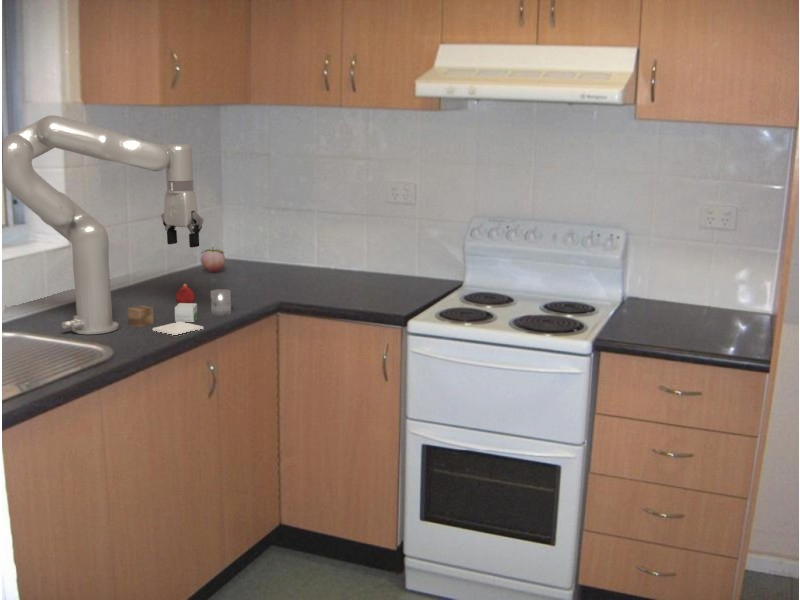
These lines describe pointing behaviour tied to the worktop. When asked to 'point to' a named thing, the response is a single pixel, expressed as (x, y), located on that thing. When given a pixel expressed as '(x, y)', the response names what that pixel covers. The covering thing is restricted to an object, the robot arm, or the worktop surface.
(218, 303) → the tin
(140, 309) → the walnut block
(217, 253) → the decorative fruit
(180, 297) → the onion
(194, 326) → the plate
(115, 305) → the worktop surface
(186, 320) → the small box
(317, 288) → the worktop surface
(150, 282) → the worktop surface
